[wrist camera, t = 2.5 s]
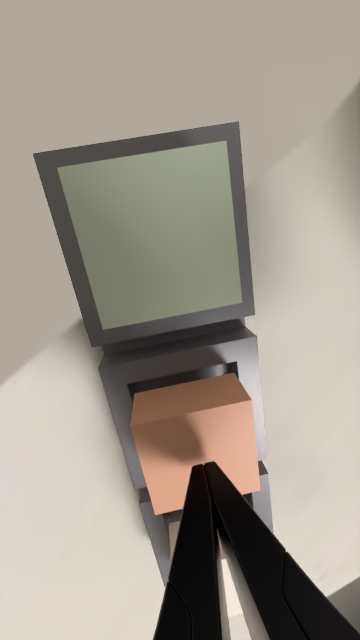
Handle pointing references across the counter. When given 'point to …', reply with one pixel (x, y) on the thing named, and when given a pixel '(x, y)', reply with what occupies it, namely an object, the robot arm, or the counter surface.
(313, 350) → the counter surface
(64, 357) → the counter surface
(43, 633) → the counter surface
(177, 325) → the button bank
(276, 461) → the counter surface
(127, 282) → the sage button
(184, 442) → the terracotta button
